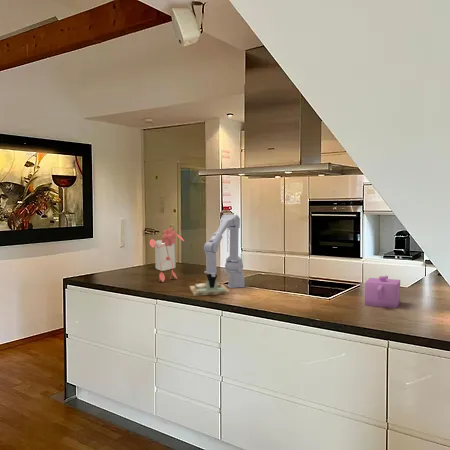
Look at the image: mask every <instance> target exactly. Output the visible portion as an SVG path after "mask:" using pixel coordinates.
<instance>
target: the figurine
mask: <svg viewBox="0 0 450 450" xmlns="http://www.w3.org/2000/svg"><path fill="white" fill-rule="evenodd" d="M176 232H177V231H176V230H174V229H173V227H168V228H166V229H164V230H163V231H162V233H163V235H162V236H161V238H162V239H161V240H162V243H165V244H164V245H165V246H166V249H167V246H168V245H169V246H171V245H172V244H174V243H175V244H176V240H175V239H176V238H178V239H179V240H181V241H182V242H185V240H184V238H183V237H182V236H181V235H180V234H178V233H176ZM155 241H156V240H155V239H154V238H151V239H150V240H149V245H150V246H149V247H150V248H152V249H155V245H156V242H155ZM164 245H162V246H164ZM156 246H157V245H156ZM162 246H160V247H162ZM160 247H158V246H157V248H160ZM167 253H168V249H167ZM166 260H168V261H169V260H171V259H170V257H169V255H168V257H166ZM166 260H165V261H166ZM171 261H172V260H171ZM163 262H164V261H163ZM161 263H162V262H161ZM161 263H160V266H161ZM170 272H171V274H170V277H169V280H171V279H172V276H173V277H174V279H176V280H178V277H177V275H176V273H175V272H174V269H173V262H172V269H171V271H170ZM165 279H166V276H165V273H163V271H162V269H161V272H159V281H158V282H162V283H164V281H165ZM181 282H183V281H180V283H181ZM176 283H177V284H178V283H179V281H178V282H175V284H176Z"/></svg>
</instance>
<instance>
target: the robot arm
mask: <svg viewBox="0 0 450 450" xmlns="http://www.w3.org/2000/svg"><path fill="white" fill-rule="evenodd" d="M240 224H241V218H240V216H239V215H237V214H222V215H221V218H220V224H219V226H218V227H217V231H215V232H213V233H212V235H211V237H210V238H209V239H208V241H206V242H204V245H203V251H204V255H205V266H206V269H205V271H203V272H204V273H205V276H206V278H207V281H209V285H210V288H214V285H215V280H217V278H218V275H217V273H218V270H217V252H218V251H219V246H220V242H221V241H222V239H223V234H224V233H225V231H226V229H228V230H229V256H228V257H226V260H225V264H224V265H225V266H224V268H225V270H226V272H227V274H228V278H227V279H228V284H226V287H228V289H233V288H234V289H235V288H245V286H246V285H245V273H244V272H243V269H244V264H243V263H244V262H243V259H242V257H240V256H239V229H240V227H241V225H240Z"/></svg>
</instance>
